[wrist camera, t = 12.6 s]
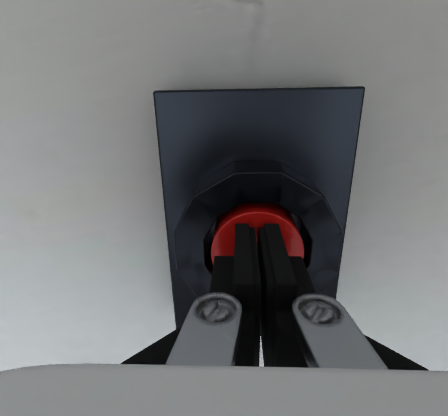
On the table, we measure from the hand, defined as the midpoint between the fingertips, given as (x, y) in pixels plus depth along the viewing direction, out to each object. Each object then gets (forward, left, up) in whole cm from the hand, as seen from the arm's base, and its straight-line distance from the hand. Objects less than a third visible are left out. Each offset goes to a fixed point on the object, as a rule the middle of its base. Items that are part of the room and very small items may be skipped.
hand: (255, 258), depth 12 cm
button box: (0, 0, -4) cm, 4 cm away
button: (0, 0, -2) cm, 2 cm away
